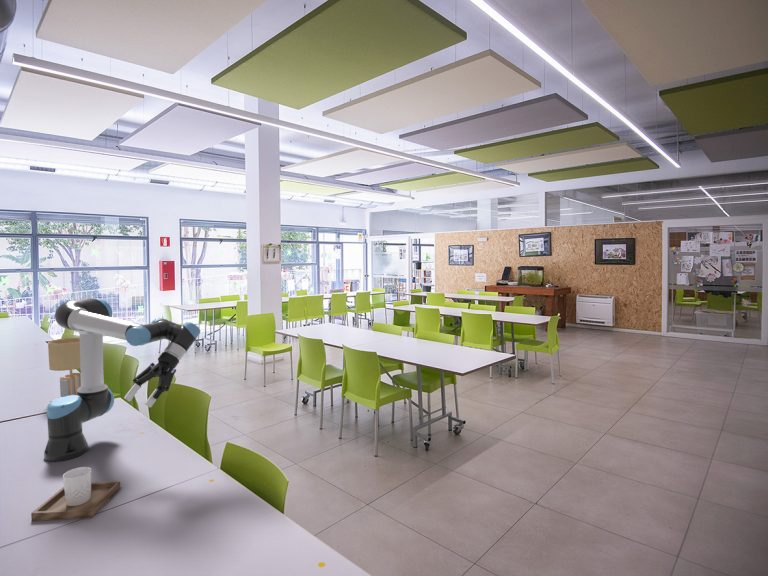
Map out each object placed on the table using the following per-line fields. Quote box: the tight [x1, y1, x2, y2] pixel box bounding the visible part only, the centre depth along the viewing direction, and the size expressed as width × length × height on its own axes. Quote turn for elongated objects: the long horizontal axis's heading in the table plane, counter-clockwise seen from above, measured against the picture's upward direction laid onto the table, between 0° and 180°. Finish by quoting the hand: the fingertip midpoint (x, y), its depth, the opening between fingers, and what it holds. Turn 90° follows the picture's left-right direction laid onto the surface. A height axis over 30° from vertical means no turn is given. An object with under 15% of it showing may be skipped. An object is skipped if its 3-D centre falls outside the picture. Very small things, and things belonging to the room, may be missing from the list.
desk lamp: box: [47, 336, 81, 403], centre depth 251 cm, size 20×20×35 cm
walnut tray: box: [30, 480, 121, 522], centre depth 147 cm, size 18×18×2 cm
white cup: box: [62, 466, 92, 506], centre depth 147 cm, size 8×8×10 cm
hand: (136, 402), depth 166 cm, fingers open, 13 cm apart
